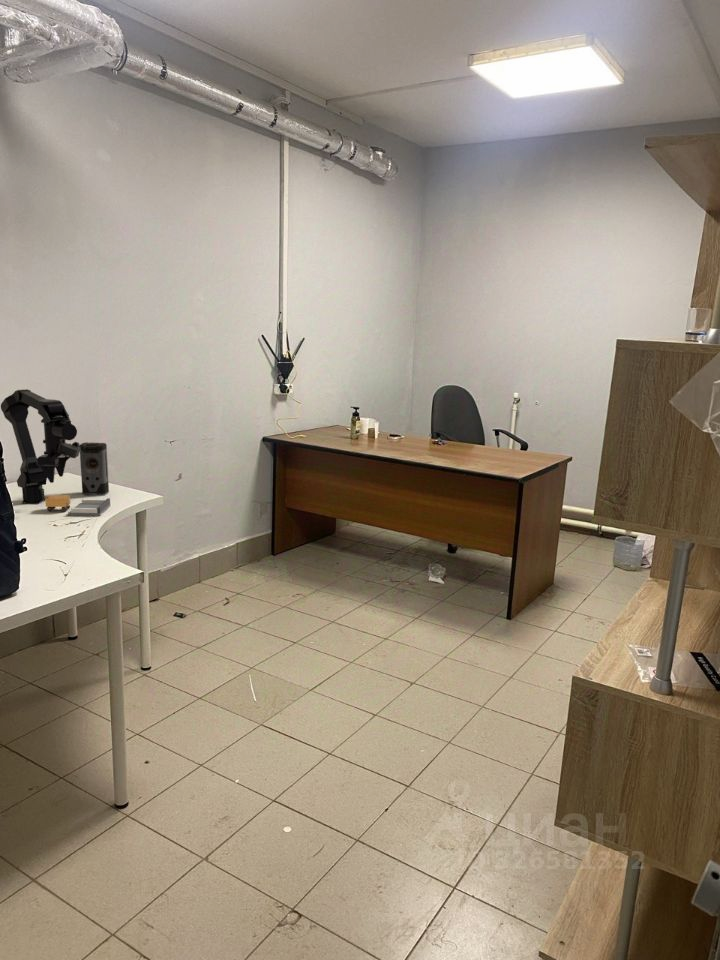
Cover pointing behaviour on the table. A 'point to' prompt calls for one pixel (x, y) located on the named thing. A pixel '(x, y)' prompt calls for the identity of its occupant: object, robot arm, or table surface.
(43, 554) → the table surface
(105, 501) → the dock
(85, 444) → the electronic device
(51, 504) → the trolley
